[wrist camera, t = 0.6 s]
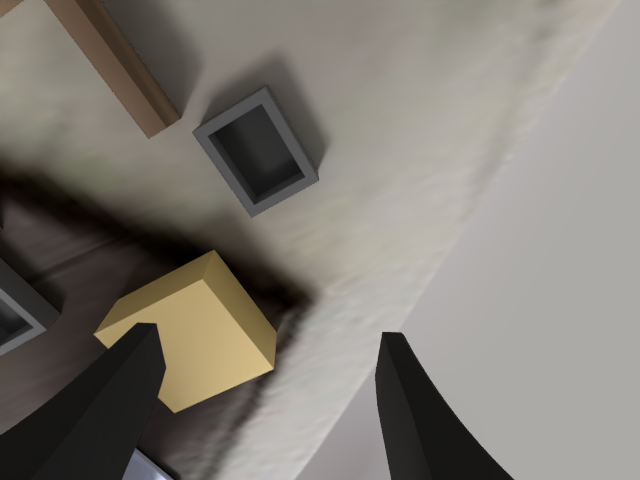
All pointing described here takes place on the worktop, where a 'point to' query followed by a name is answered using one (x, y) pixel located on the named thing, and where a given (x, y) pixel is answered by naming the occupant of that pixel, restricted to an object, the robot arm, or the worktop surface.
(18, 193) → the worktop surface
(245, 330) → the block
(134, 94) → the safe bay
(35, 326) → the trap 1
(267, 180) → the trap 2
